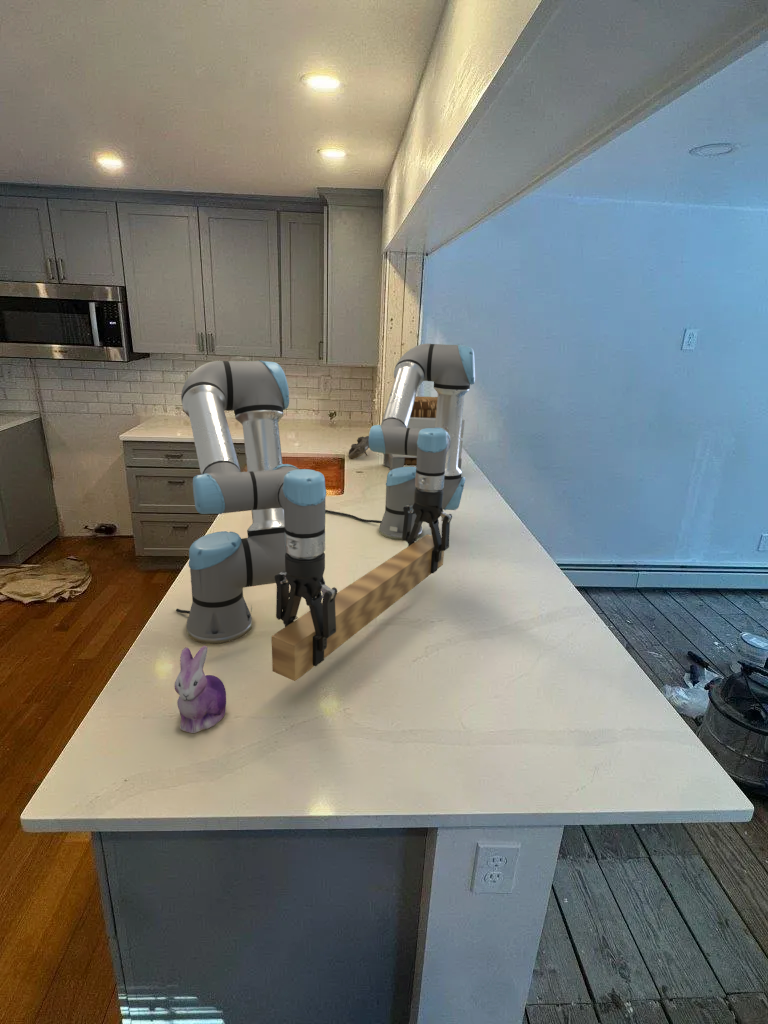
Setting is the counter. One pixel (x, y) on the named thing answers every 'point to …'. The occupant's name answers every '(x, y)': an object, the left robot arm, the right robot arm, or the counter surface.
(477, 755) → the counter surface
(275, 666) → the beam
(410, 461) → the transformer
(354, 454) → the fossil
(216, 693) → the figurine
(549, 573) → the counter surface
